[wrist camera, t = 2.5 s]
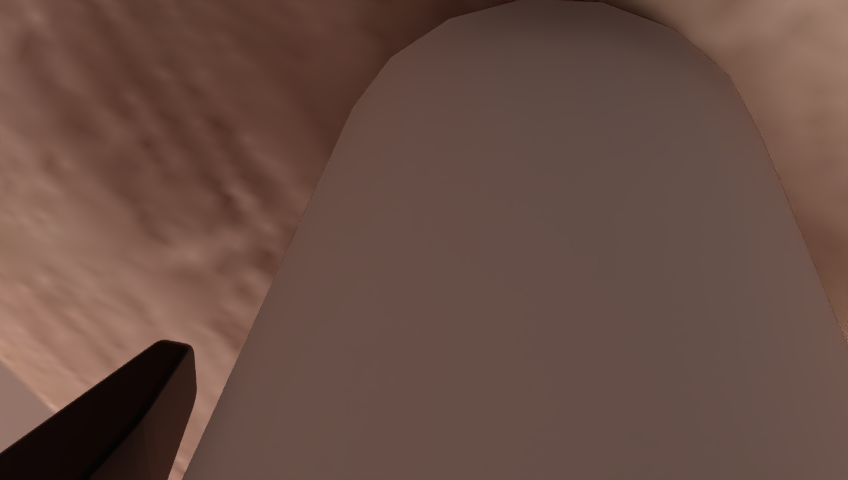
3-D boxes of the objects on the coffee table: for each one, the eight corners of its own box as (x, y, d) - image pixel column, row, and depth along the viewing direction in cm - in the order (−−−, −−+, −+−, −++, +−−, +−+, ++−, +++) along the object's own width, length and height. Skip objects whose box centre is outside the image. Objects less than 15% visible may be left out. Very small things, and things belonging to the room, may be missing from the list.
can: (853, 116, 13) (1591, 1294, 4) (597, 375, 18) (639, 1225, 8) (462, -112, 12) (84, 792, 2) (290, 227, 16) (-87, 1029, 7)
